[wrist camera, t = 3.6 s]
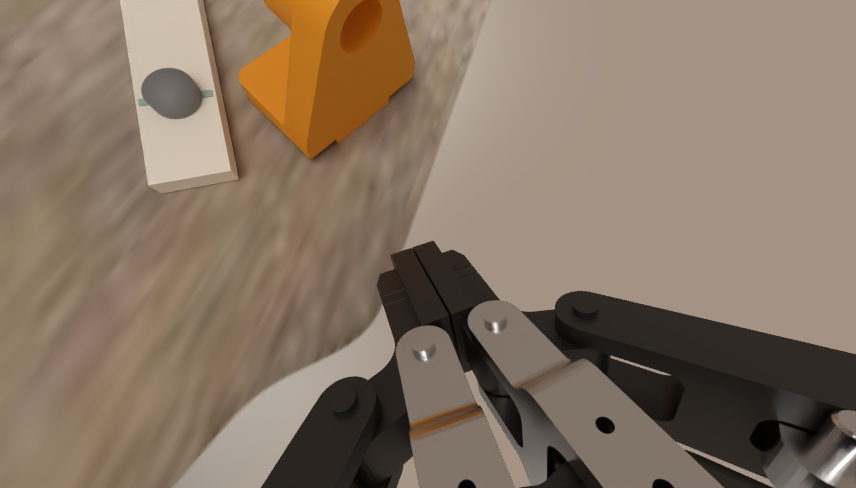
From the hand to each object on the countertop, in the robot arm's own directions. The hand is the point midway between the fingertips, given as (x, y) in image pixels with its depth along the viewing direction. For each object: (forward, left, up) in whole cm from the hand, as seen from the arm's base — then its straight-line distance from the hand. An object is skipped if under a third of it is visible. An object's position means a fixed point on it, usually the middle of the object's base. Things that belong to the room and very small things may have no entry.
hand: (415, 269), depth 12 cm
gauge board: (-11, +23, -14) cm, 29 cm away
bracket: (0, +17, -14) cm, 22 cm away
